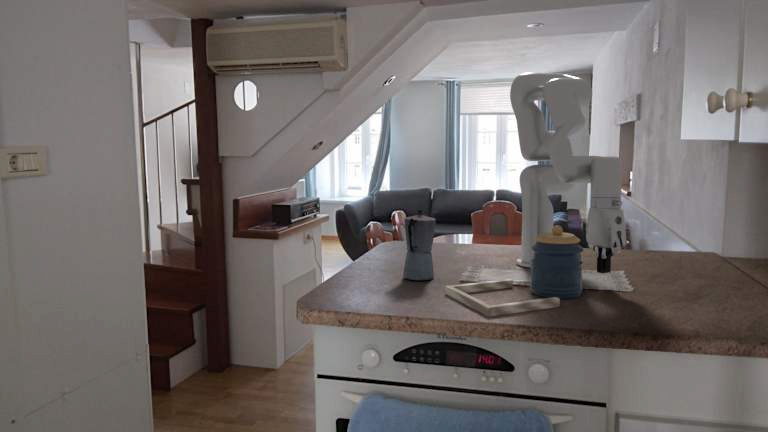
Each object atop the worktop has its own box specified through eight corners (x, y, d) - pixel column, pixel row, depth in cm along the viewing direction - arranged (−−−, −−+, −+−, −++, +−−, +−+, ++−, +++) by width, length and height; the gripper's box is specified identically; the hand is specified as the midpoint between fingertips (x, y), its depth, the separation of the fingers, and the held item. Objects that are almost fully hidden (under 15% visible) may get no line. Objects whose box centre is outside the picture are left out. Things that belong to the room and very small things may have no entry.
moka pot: (441, 273, 167) (441, 207, 165) (428, 286, 153) (428, 213, 150) (410, 271, 170) (410, 206, 168) (394, 283, 156) (394, 212, 153)
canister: (519, 289, 148) (520, 223, 146) (558, 284, 153) (560, 220, 151) (552, 302, 136) (554, 230, 134) (593, 296, 142) (595, 227, 139)
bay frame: (509, 286, 152) (509, 278, 152) (559, 306, 133) (559, 298, 132) (445, 293, 145) (445, 286, 145) (488, 316, 126) (488, 307, 126)
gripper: (638, 205, 142) (636, 276, 144) (596, 201, 155) (595, 266, 157) (615, 206, 139) (613, 279, 141) (574, 202, 153) (573, 268, 155)
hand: (603, 272), depth 149 cm, fingers closed
